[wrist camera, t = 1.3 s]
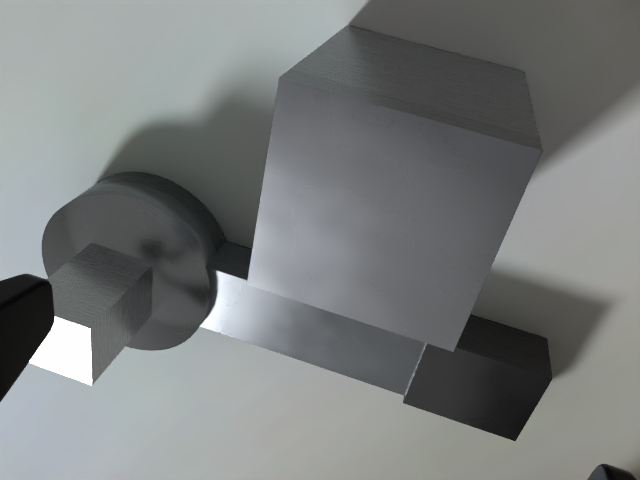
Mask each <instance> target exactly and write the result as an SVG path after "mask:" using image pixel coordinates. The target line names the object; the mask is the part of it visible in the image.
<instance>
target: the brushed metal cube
mask: <svg viewBox="0 0 640 480" xmlns="http://www.w3.org/2000/svg"><path fill="white" fill-rule="evenodd" d="M541 153H542V146H541V142H540V138H539V133H538V129H537V124H536V120H535V116H534V111H533V107H532V102H531V98H530V94H529V89H528V85H527V80H526V76H525V72H523V71H519V70H516V69H512V68H508V67H504V66H500V65H497V64H493V63H489V62H485V61H482V60H478V59H474V58H470V57H466V56H463V55H459V54H455V53H451V52H447V51H444V50H440V49H436V48H432V47H428V46H425V45H421V44H417V43H413V42H409V41H406V40H402V39H398V38H394V37H390V36H387V35H383V34H379V33H375V32H371V31H368V30H364V29H360V28H356V27H353V26H349V25H347V26H346V27H344V28H343V29H342V30H340V31H339V32H338V33H336V34H335V35H334V36H333V37H331V38H330V39H329V40H327V41H326V42H325V43H323V44H322V45H321V46H320V47H318V48H317V49H316V50H314V51H313V52H312V53H310V54H309V55H308V56H307V57H305V58H304V59H303V60H301V61H300V62H299V63H298V64H296V65H295V66H294V67H292V68H291V69H290V70H288V71H287V72H286V73H285V74H283V75H282V76H281V77H279V83H278V89H277V96H276V102H275V108H274V115H273V121H272V127H271V134H270V140H269V146H268V153H267V159H266V166H265V172H264V178H263V185H262V191H261V197H260V204H259V210H258V216H257V223H256V229H255V236H254V242H253V248H252V255H251V261H250V267H249V274H248V280H247V285H250V286H253V287H256V288H259V289H262V290H265V291H268V292H271V293H274V294H277V295H280V296H283V297H286V298H289V299H292V300H296V301H299V302H302V303H305V304H308V305H311V306H314V307H317V308H320V309H323V310H326V311H329V312H332V313H335V314H338V315H342V316H345V317H348V318H351V319H354V320H357V321H360V322H363V323H366V324H369V325H372V326H375V327H378V328H381V329H384V330H388V331H391V332H394V333H397V334H400V335H403V336H406V337H409V338H412V339H415V340H418V341H421V342H424V343H427V344H430V345H434V346H437V347H440V348H443V349H446V350H449V351H452V352H454V350H455V347H456V345H457V343H458V340H459V338H460V336H461V334H462V331H463V329H464V327H465V325H466V322H467V320H468V318H469V316H470V313H471V311H472V309H473V307H474V304H475V302H476V300H477V298H478V295H479V293H480V291H481V289H482V286H483V284H484V282H485V280H486V277H487V275H488V273H489V271H490V268H491V266H492V264H493V262H494V259H495V257H496V255H497V253H498V250H499V248H500V246H501V243H502V241H503V239H504V237H505V234H506V232H507V230H508V228H509V225H510V223H511V221H512V219H513V216H514V214H515V212H516V210H517V207H518V205H519V203H520V201H521V198H522V196H523V194H524V192H525V189H526V187H527V185H528V183H529V180H530V178H531V176H532V174H533V171H534V169H535V167H536V165H537V162H538V160H539V158H540V156H541Z"/></svg>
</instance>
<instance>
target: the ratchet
mask: <svg viewBox="0 0 640 480" xmlns="http://www.w3.org/2000/svg"><path fill="white" fill-rule="evenodd" d="M251 255H252V249H249V248H246V247H243V246H240V245H237V244H233V243H230V242H227V241H226V240H225V237H224V234H223V232H222V230H221V229H220V227H219V225H218V223H217V222H216V220H215V219H214V217H213V216H212V214H211V213H210V212H209V211H208V210H207V208H206V207H205V206H204V205H203V204H202V203H201V202H200V201H199V200H198V199H197V198H195V197H194V196H193V195H192V194H190V193H189V192H188V191H186V190H185V189H183V188H182V187H180V186H179V185H177V184H175V183H173V182H171V181H169V180H167V179H164V178H162V177H159V176H156V175H152V174H148V173H140V172H125V173H119V174H115V175H112V176H109V177H107V178H105V179H103V180H101V181H100V182H98V183H97V184H95V185H94V186H92V187H91V188H90V189H88V190H87V191H85V192H84V193H82V194H81V195H79V196H78V197H76V198H75V199H73V200H72V201H71V202H69V203H68V204H66V205H65V206H63V207H62V208H61V209H59V210H58V211H57V212H56V213H55V214H54V215H53V216H52V217H51V219H50V220H49V222H48V224H47V225H46V228H45V231H44V234H43V239H42V257H43V263H44V266H45V270H46V273H47V275H48V279H46V280H48V281H49V282H50V284H51V285H52V291H53V302H54V312H55V320H54V325H53V327H52V329H51V331H50V333H49V334H48V336H47V337H46V339H45V340H44V341H43V343H42V344H41V346H40V347H39V349H38V350H37V351H36V353H35V354H34V356H33V357H32V358H31V360H30V361H29V363H31V364H34V365H37V366H40V367H43V368H45V369H48V370H51V371H54V372H56V373H59V374H62V375H65V376H68V377H70V378H73V379H76V380H79V381H81V382H84V383H87V384H90V385H93V384H94V383H95V381H96V380H97V379H98V378H99V377H100V375H101V374H102V373H103V372H104V371H105V370H106V368H107V367H108V366H109V365H110V364H111V362H112V361H113V360H114V359H115V358H116V356H117V355H118V354H119V353H120V352H121V351H122V349H123V348H124V347H125V346H127V347H130V348H135V349H140V350H163V349H169V348H172V347H175V346H177V345H179V344H181V343H183V342H185V341H186V340H187V339H189V338H190V337H191V336H192V335H193V334H194V333H195V332H196V330H197V329H198V327H199V326H201V327H204V328H207V329H210V330H213V331H215V332H218V333H221V334H224V335H227V336H230V337H233V338H236V339H239V340H242V341H245V342H248V343H251V344H254V345H257V346H260V347H263V348H266V349H269V350H272V351H275V352H277V353H280V354H283V355H286V356H289V357H292V358H295V359H298V360H301V361H304V362H307V363H310V364H313V365H316V366H319V367H322V368H325V369H328V370H331V371H334V372H337V373H339V374H342V375H345V376H348V377H351V378H354V379H357V380H360V381H363V382H366V383H369V384H372V385H375V386H378V387H381V388H384V389H387V390H390V391H393V392H396V393H399V394H401V395H404V400H403V403H405V404H408V405H411V406H414V407H416V408H419V409H422V410H425V411H428V412H431V413H434V414H437V415H440V416H443V417H446V418H449V419H452V420H455V421H458V422H461V423H463V424H466V425H469V426H472V427H475V428H478V429H481V430H484V431H487V432H490V433H493V434H496V435H499V436H502V437H505V438H508V439H510V440H513V441H516V439H517V438H518V436H519V434H520V432H521V431H522V429H523V427H524V426H525V424H526V422H527V421H528V419H529V417H530V416H531V414H532V412H533V411H534V409H535V407H536V406H537V404H538V402H539V401H540V399H541V397H542V396H543V394H544V392H545V390H546V389H547V387H548V385H549V384H550V382H551V380H552V372H551V365H550V357H549V350H548V343H547V339H546V338H543V337H540V336H537V335H534V334H531V333H527V332H524V331H521V330H518V329H515V328H512V327H508V326H505V325H502V324H499V323H496V322H493V321H490V320H486V319H483V318H480V317H477V316H474V315H471V314H470V316H469V318H468V320H467V322H466V325H465V327H464V329H463V331H462V334H461V336H460V338H459V340H458V343H457V345H456V347H455V350H454V352H452V351H449V350H446V349H443V348H440V347H437V346H434V345H430V344H427V343H424V342H421V341H418V340H415V339H412V338H409V337H406V336H403V335H400V334H397V333H394V332H391V331H388V330H384V329H381V328H378V327H375V326H372V325H369V324H366V323H363V322H360V321H357V320H354V319H351V318H348V317H345V316H342V315H338V314H335V313H332V312H329V311H326V310H323V309H320V308H317V307H314V306H311V305H308V304H305V303H302V302H299V301H296V300H292V299H289V298H286V297H283V296H280V295H277V294H274V293H271V292H268V291H265V290H262V289H259V288H256V287H253V286H250V285H247V280H248V274H249V267H250V261H251Z"/></svg>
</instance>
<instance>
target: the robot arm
mask: <svg viewBox="0 0 640 480" xmlns="http://www.w3.org/2000/svg"><path fill="white" fill-rule="evenodd" d="M54 320H55V312H54V302H53V291H52V285H51V284H50V282H49V281H48V280H46V279H43V278H40V277H37V276H34V275H31V274H22V275H18V276H15V277H12V278H8V279H5V280H2V281H0V402H1V401H2V399H3V398H4V397H5V395H6V394H7V392H8V391H9V390H10V388H11V387H12V385H13V384H14V383H15V381H16V380H17V378H18V377H19V375H20V374H21V373H22V371H23V370H24V368H25V367H26V366H27V364H28V363H29V361H30V360H31V358H32V357H33V356H34V354H35V353H36V351H37V350H38V349H39V347H40V346H41V344H42V343H43V341H44V340H45V339H46V337H47V336H48V334H49V333H50V331H51V329H52V327H53V325H54ZM587 480H637V479H636V478H635V477H634V476H633V475H632V474H631V473H630V472H628V471H626V470H623V469H620V468H617V467H614V466H611V465H608V464H601V465H599V466H597V467H596V468H595V470H594V471H593V472H592V474H591V475H590V477H589V478H588V479H587Z"/></svg>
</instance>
